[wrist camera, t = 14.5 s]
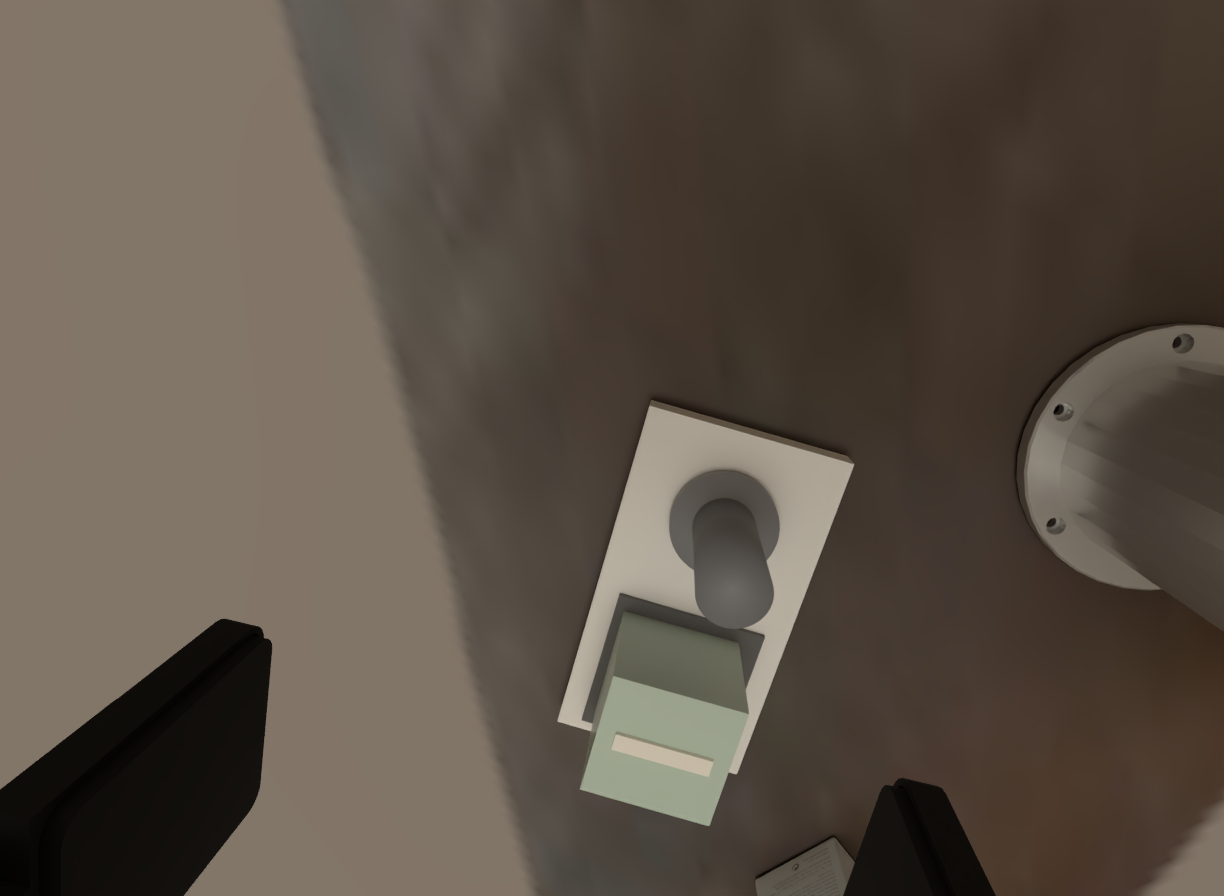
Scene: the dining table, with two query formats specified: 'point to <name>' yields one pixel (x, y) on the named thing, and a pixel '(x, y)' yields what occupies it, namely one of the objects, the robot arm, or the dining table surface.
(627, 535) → the post board
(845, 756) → the dining table surface
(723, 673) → the green slotted box
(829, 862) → the small box
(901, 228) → the dining table surface
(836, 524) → the dining table surface
